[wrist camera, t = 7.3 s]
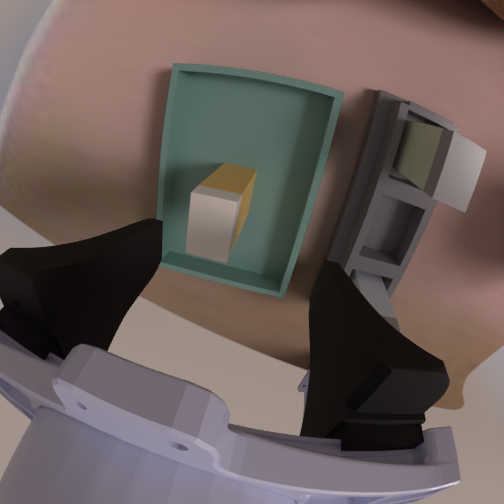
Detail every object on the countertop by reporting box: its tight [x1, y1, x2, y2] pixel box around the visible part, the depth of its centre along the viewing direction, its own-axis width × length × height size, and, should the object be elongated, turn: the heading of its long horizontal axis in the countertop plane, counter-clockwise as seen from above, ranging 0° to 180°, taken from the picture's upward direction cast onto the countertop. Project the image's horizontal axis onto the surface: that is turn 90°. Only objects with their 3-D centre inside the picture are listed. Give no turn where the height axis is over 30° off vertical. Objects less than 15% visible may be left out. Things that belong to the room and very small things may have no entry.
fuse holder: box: [309, 90, 459, 305], centre depth 19 cm, size 18×7×3 cm, turn 169°
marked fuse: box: [186, 163, 257, 263], centre depth 17 cm, size 4×2×7 cm, turn 169°
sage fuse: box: [392, 120, 487, 213], centre depth 13 cm, size 4×2×7 cm, turn 169°
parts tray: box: [156, 63, 344, 299], centre depth 20 cm, size 16×11×2 cm
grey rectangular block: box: [349, 269, 400, 332], centre depth 19 cm, size 4×2×7 cm, turn 169°
